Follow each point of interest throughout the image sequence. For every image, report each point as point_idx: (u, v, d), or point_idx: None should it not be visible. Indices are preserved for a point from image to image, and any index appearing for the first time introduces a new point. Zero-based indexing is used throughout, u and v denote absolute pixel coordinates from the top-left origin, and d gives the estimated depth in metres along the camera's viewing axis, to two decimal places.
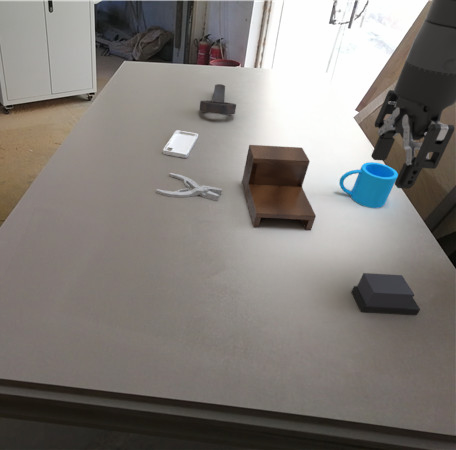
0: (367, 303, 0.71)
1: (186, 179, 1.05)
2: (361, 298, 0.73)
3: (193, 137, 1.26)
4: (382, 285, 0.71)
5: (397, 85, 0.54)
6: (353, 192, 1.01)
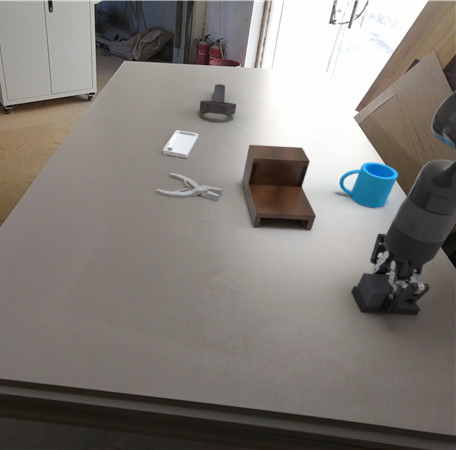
0: (367, 303, 0.71)
1: (186, 179, 1.05)
2: (361, 298, 0.73)
3: (193, 137, 1.26)
4: (382, 285, 0.71)
5: (386, 238, 0.66)
6: (353, 192, 1.01)
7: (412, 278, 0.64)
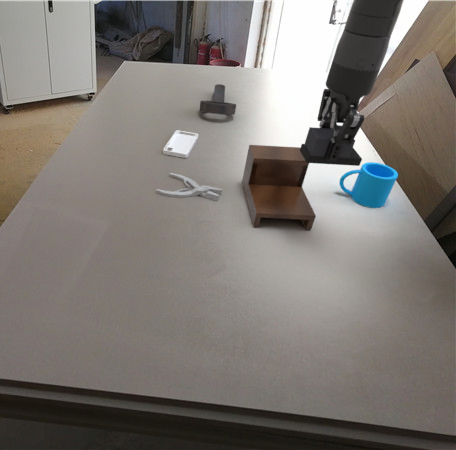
0: (312, 152, 0.75)
1: (186, 179, 1.05)
2: (307, 151, 0.76)
3: (193, 137, 1.26)
4: (325, 134, 0.74)
5: (327, 79, 0.69)
6: (353, 192, 1.01)
7: (349, 112, 0.67)
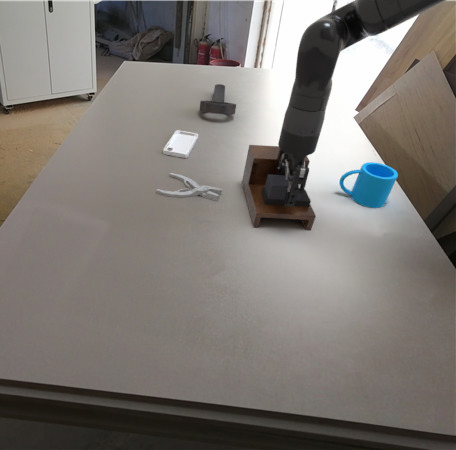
0: (268, 196, 0.90)
1: (186, 179, 1.05)
2: (265, 194, 0.92)
3: (193, 137, 1.26)
4: (280, 181, 0.90)
5: (279, 140, 0.84)
6: (353, 192, 1.01)
7: (297, 167, 0.82)
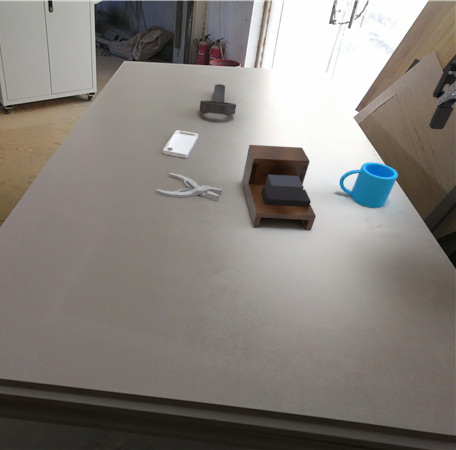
0: (268, 196, 0.90)
1: (186, 179, 1.05)
2: (265, 194, 0.92)
3: (193, 137, 1.26)
4: (280, 181, 0.90)
5: None
6: (353, 192, 1.01)
7: None
